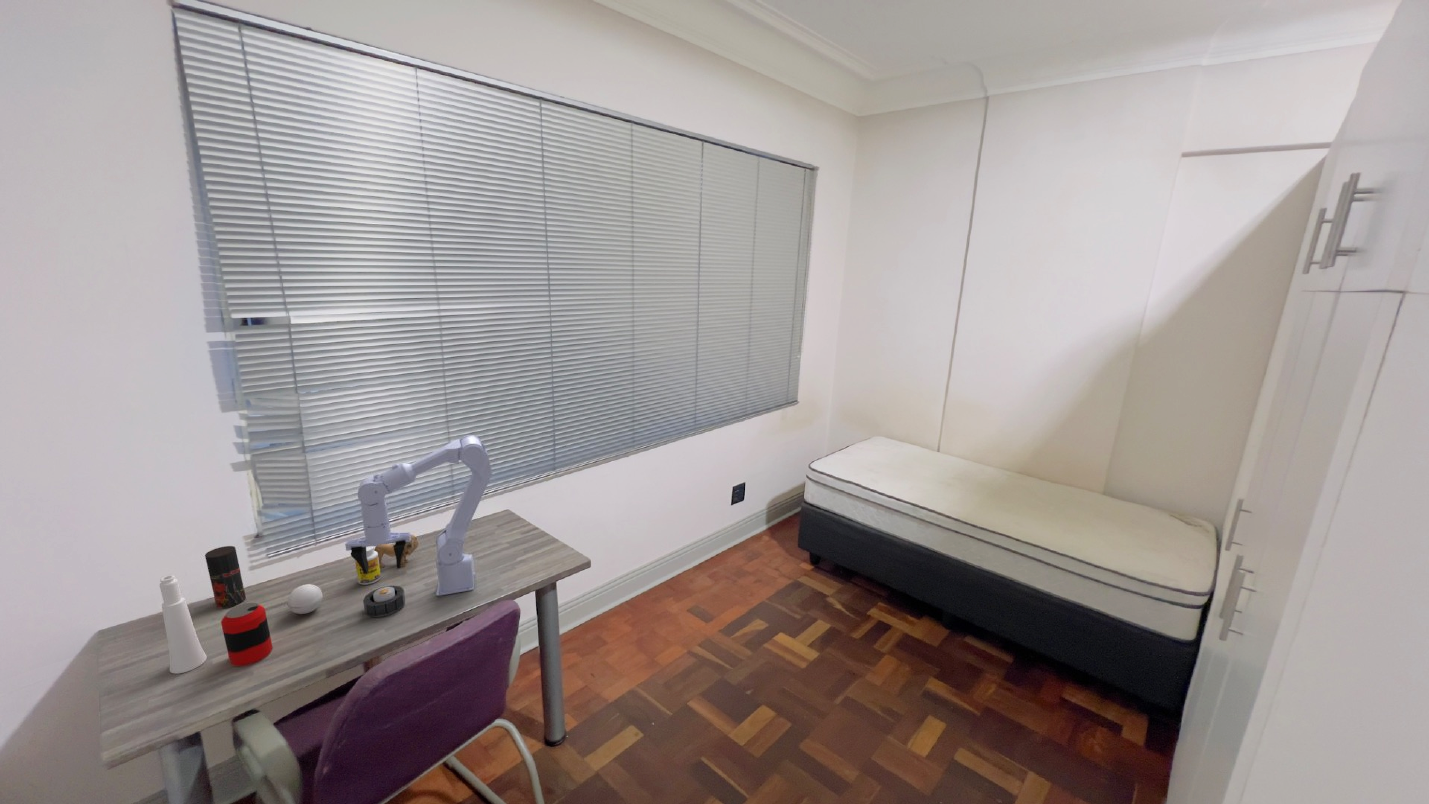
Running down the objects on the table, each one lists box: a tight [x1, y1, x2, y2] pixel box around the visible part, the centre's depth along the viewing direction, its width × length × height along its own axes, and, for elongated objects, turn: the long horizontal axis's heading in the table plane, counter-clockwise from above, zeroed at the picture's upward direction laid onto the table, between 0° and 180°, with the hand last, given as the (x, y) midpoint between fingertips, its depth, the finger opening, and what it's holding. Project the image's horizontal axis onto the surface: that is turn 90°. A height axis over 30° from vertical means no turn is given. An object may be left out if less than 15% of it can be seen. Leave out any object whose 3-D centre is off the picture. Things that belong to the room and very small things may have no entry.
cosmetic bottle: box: [159, 574, 208, 675], centre depth 118 cm, size 6×6×22 cm
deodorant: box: [204, 545, 247, 610], centre depth 142 cm, size 6×6×15 cm
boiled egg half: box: [373, 586, 395, 603], centre depth 142 cm, size 5×5×4 cm
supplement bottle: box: [354, 546, 382, 586], centre depth 153 cm, size 6×6×10 cm
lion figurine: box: [374, 534, 419, 568], centre depth 162 cm, size 15×5×9 cm, turn 103°
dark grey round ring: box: [362, 585, 406, 619], centre depth 142 cm, size 9×9×4 cm
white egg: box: [280, 583, 324, 615], centre depth 138 cm, size 10×7×7 cm
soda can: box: [220, 602, 273, 667], centre depth 123 cm, size 8×8×12 cm
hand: (383, 569), depth 142 cm, fingers open, 7 cm apart
